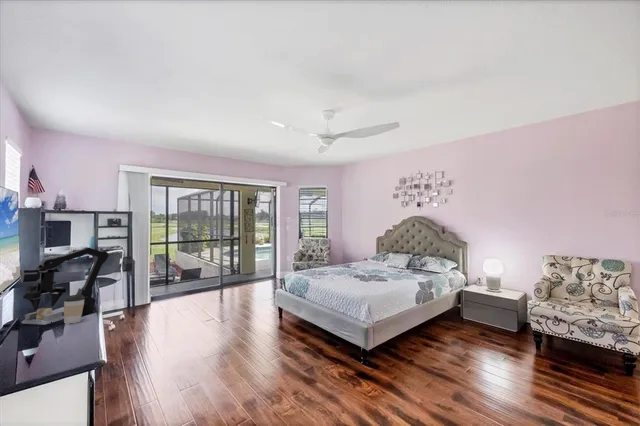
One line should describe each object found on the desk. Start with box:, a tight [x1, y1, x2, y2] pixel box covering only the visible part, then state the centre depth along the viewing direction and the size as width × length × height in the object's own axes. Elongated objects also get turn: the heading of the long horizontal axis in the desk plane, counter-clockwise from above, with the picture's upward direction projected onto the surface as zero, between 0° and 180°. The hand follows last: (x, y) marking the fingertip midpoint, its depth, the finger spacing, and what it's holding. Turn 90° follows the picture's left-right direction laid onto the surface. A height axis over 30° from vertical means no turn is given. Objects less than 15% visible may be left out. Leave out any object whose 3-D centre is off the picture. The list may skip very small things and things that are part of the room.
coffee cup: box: [63, 294, 85, 325], centre depth 157 cm, size 9×9×15 cm
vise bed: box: [21, 310, 64, 326], centre depth 157 cm, size 14×11×4 cm
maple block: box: [36, 307, 53, 320], centre depth 157 cm, size 5×4×6 cm
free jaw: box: [23, 311, 37, 320], centre depth 158 cm, size 4×8×3 cm, turn 177°
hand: (44, 308), depth 158 cm, fingers open, 9 cm apart
